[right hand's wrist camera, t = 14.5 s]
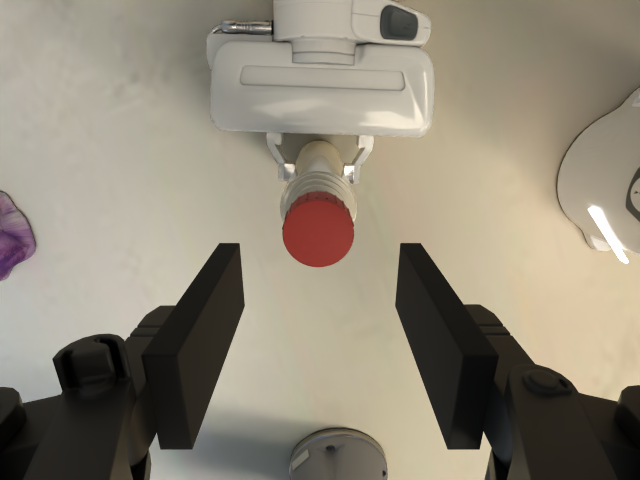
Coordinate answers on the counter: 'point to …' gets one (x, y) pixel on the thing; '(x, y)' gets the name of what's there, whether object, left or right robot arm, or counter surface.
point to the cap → (318, 229)
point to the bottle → (318, 176)
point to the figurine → (13, 237)
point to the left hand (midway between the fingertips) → (319, 181)
